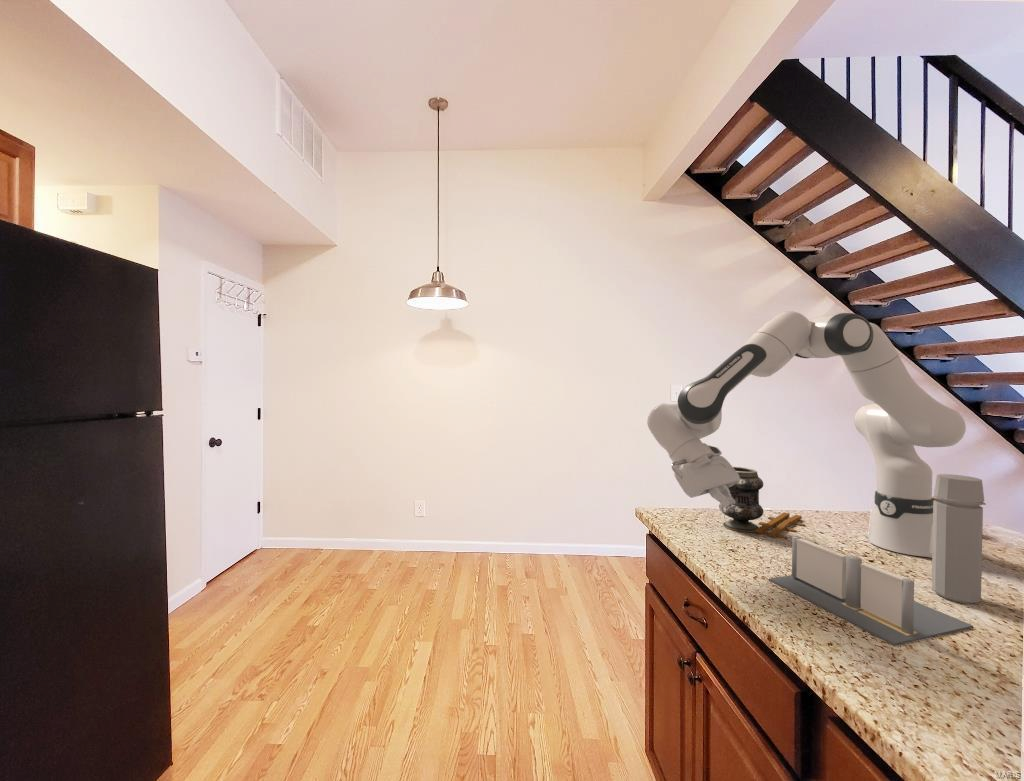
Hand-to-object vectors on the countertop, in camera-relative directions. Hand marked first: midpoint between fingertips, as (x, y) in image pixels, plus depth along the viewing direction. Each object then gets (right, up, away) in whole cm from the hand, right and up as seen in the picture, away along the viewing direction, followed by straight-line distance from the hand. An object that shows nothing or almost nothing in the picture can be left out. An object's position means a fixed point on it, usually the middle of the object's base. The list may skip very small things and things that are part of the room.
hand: (730, 505), depth 102 cm
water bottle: (+41, -16, -12) cm, 46 cm away
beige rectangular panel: (+13, -15, -10) cm, 22 cm away
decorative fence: (+31, -16, +31) cm, 47 cm away
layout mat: (+19, -16, -15) cm, 29 cm away
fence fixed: (+17, -16, -22) cm, 31 cm away
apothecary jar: (+19, -15, +30) cm, 39 cm away
